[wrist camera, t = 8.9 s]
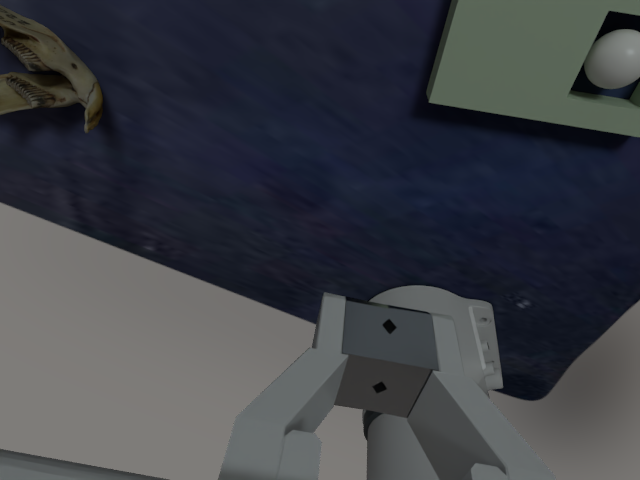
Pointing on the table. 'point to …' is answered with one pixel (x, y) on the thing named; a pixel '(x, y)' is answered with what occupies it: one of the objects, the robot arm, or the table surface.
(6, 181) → the table surface
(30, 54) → the jawbone
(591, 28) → the putting board
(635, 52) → the ball
